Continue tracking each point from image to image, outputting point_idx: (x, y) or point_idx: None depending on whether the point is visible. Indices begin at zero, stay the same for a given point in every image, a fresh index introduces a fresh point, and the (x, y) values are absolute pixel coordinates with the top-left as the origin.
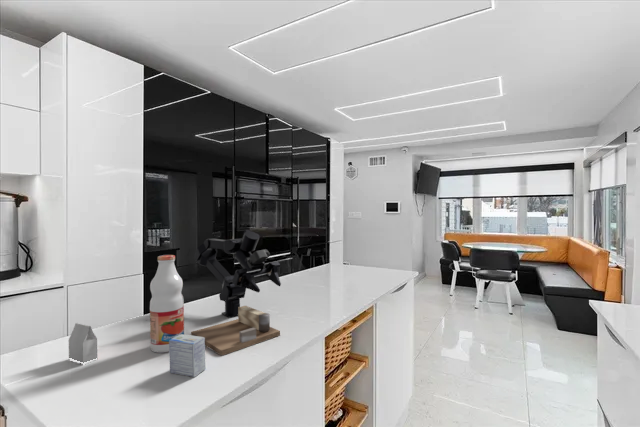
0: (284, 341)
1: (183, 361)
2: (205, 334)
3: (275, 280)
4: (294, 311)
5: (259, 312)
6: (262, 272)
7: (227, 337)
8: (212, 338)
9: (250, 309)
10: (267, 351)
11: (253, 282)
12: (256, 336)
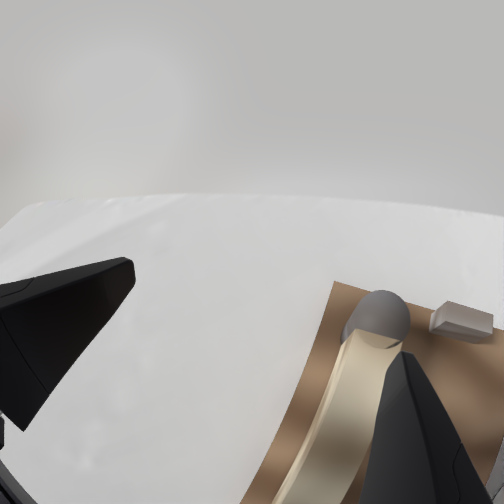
0: (365, 248)
1: None
2: None
3: (73, 321)
4: (76, 360)
5: (362, 371)
6: (16, 496)
7: (467, 409)
8: (486, 441)
9: (331, 460)
10: (439, 252)
11: (447, 450)
12: (420, 325)
